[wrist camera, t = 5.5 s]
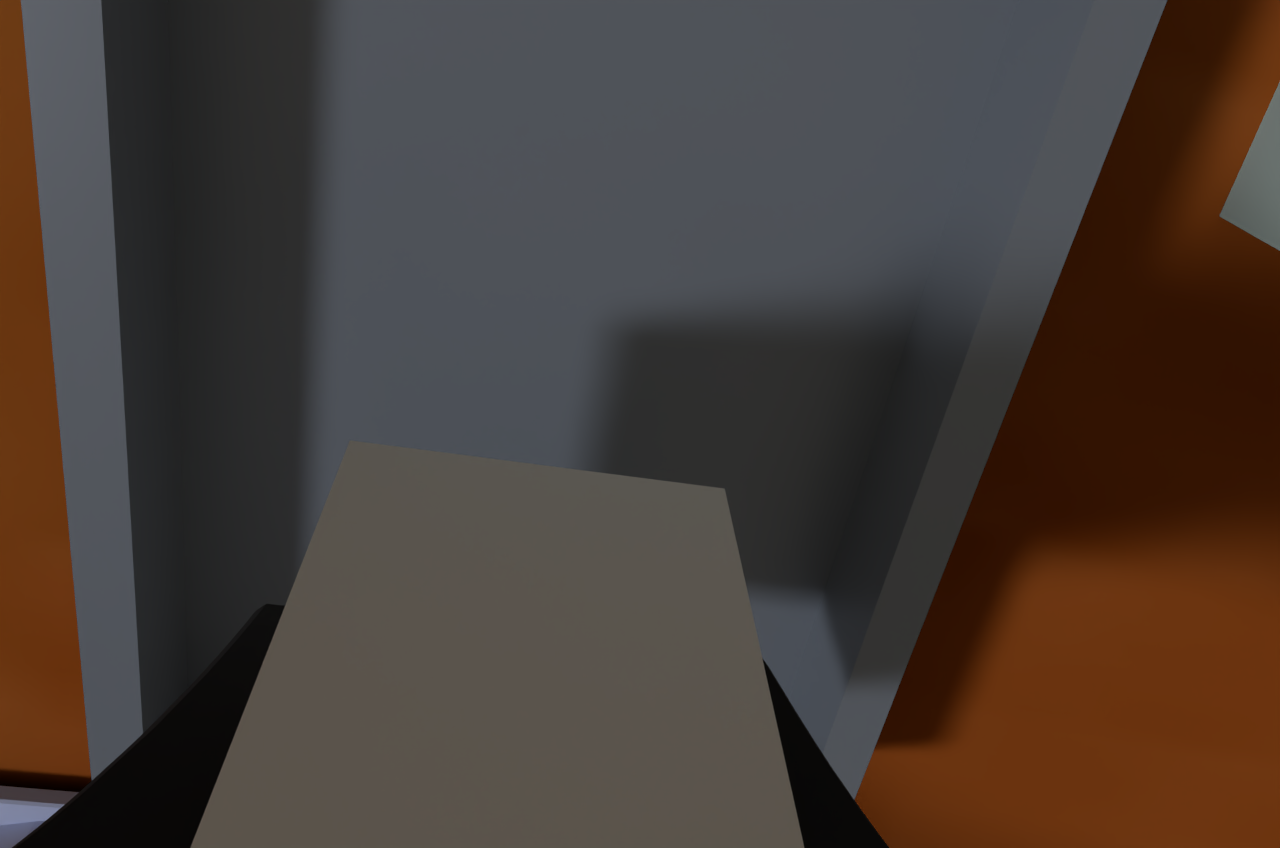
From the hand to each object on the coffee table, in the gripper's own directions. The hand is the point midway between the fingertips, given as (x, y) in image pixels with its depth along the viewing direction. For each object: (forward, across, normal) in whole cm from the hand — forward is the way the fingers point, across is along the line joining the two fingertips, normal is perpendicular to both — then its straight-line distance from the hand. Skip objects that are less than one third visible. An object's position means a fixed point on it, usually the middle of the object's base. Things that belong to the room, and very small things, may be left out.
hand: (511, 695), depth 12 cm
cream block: (+1, 0, 0) cm, 1 cm away
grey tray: (+6, 0, -2) cm, 6 cm away
